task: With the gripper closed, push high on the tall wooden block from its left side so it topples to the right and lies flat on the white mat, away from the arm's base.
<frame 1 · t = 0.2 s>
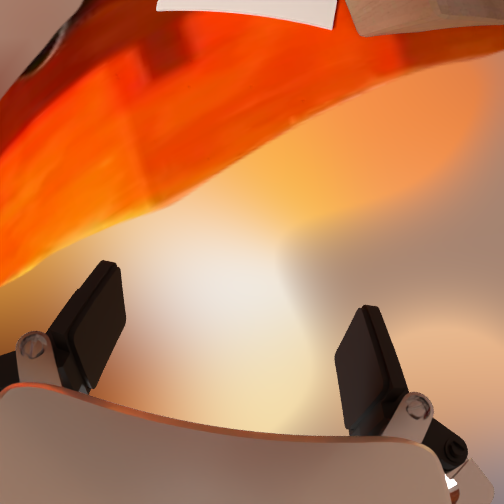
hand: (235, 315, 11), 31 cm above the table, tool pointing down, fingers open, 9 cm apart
wooden block: (377, 2, 26), on the table, touching white mat
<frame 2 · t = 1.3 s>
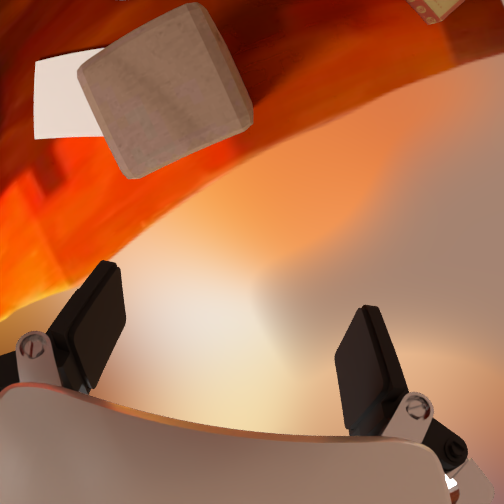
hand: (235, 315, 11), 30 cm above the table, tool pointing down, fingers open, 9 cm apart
white mat: (90, 92, 34), on the table
wooden block: (203, 90, 34), on the table, touching white mat
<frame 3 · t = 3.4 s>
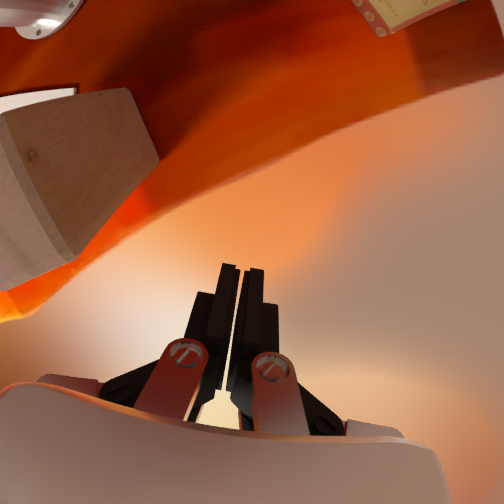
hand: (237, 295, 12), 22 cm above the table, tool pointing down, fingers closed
white mat: (14, 140, 29), on the table
wooden block: (111, 141, 30), on the table, touching white mat
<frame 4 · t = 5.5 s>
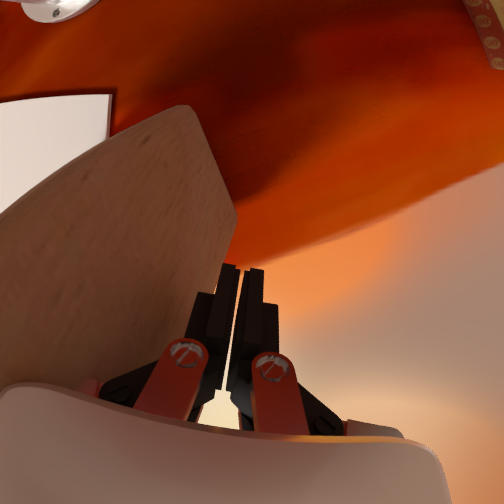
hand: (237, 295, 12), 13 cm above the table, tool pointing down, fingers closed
white mat: (20, 162, 23), on the table
wooden block: (163, 179, 23), point 1 cm above the table, touching white mat, gripper
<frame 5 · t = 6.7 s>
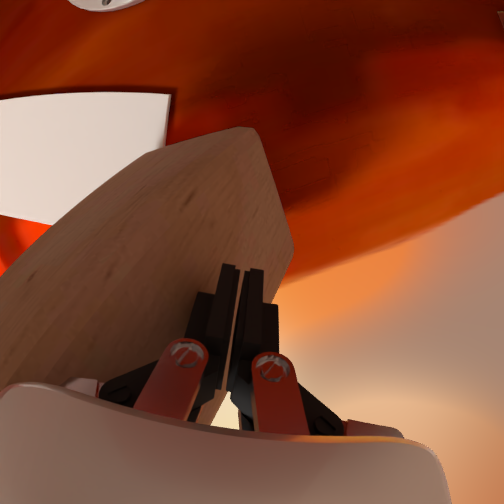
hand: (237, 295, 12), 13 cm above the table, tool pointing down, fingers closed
white mat: (55, 161, 23), on the table
wooden block: (221, 195, 22), point 2 cm above the table, touching white mat
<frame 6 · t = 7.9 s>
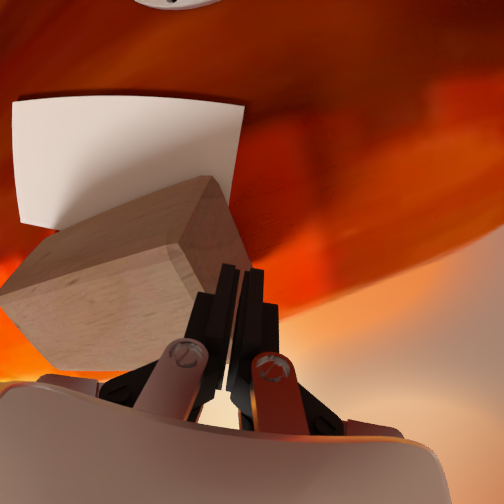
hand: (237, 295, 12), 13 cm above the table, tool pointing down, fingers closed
white mat: (103, 169, 23), on the table
wooden block: (234, 259, 20), point 6 cm above the table, touching white mat
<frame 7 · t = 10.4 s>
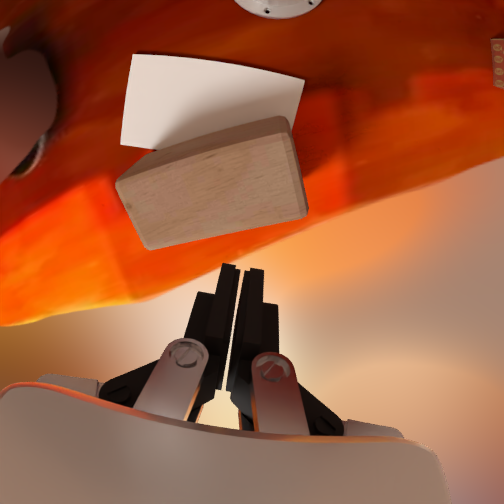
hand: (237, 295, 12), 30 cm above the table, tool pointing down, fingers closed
white mat: (205, 108, 35), on the table
wooden block: (300, 160, 33), point 6 cm above the table, touching white mat
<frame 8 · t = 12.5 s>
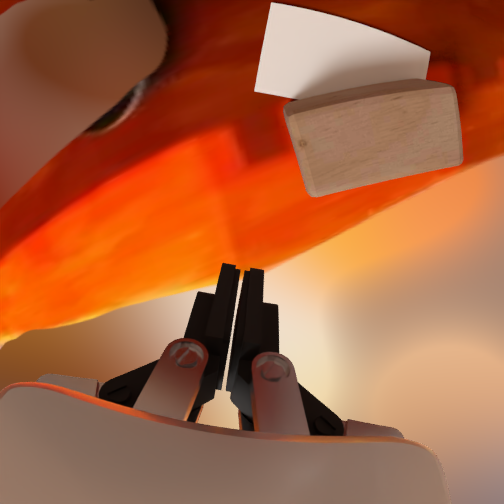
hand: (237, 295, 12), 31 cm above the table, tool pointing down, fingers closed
white mat: (348, 65, 32), on the table
wooden block: (444, 117, 29), point 6 cm above the table, touching white mat
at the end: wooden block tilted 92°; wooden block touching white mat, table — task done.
